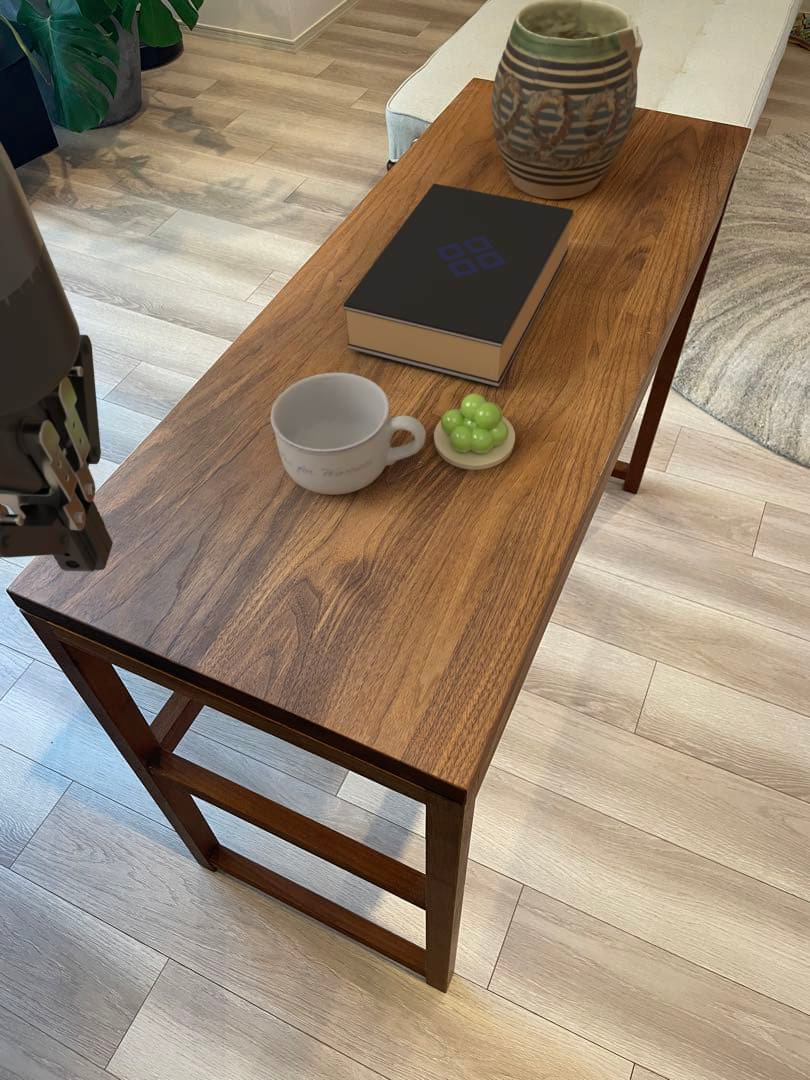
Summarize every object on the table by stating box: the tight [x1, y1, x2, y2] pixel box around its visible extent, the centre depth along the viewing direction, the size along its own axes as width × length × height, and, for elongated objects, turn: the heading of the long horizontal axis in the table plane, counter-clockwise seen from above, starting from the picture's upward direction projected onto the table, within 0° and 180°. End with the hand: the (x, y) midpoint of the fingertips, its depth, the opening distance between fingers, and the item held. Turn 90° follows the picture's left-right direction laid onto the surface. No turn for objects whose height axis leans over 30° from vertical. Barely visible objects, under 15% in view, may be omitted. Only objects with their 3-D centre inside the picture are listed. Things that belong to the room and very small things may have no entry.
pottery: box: [491, 0, 644, 200], centre depth 104 cm, size 18×18×20 cm
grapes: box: [433, 392, 516, 471], centre depth 80 cm, size 8×8×5 cm
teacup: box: [269, 372, 427, 496], centre depth 77 cm, size 14×11×8 cm
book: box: [342, 182, 575, 388], centre depth 93 cm, size 17×25×7 cm
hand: (89, 558), depth 42 cm, fingers closed
